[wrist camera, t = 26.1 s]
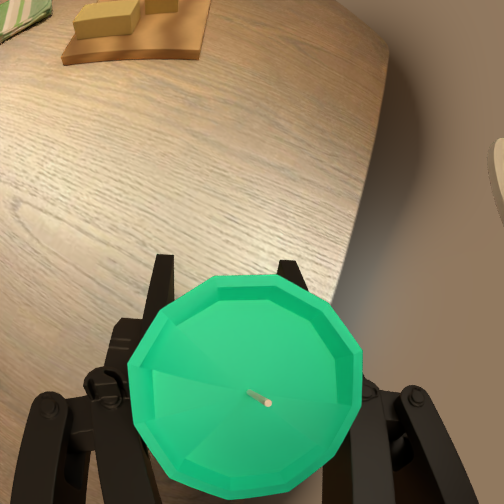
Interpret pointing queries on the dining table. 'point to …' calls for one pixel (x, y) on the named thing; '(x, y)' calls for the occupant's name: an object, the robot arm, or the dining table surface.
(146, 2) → the butter slice
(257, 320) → the candle
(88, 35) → the butter block
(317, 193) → the dining table surface
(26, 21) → the dish towel
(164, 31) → the butter board
